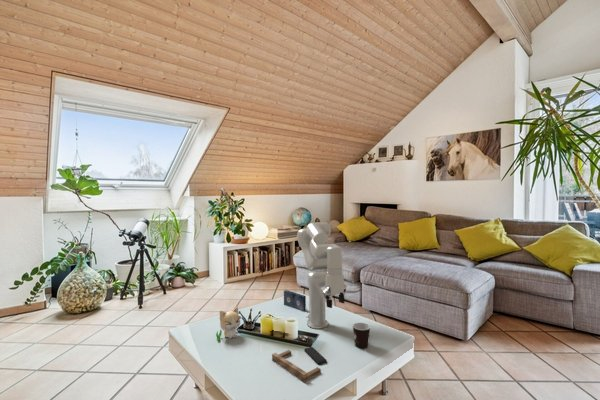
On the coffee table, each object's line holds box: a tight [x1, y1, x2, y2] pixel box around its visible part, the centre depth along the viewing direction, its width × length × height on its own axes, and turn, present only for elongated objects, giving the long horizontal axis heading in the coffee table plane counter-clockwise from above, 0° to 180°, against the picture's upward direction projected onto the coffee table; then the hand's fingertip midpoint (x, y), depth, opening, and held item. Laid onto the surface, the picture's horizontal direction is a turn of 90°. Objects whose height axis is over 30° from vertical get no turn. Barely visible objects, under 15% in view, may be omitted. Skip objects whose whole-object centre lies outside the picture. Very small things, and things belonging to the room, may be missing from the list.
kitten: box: [215, 306, 241, 341], centre depth 168 cm, size 15×10×15 cm
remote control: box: [303, 346, 328, 366], centre depth 148 cm, size 5×2×15 cm
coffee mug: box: [352, 322, 371, 350], centre depth 159 cm, size 12×9×10 cm
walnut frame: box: [271, 349, 322, 383], centre depth 139 cm, size 22×10×3 cm, turn 42°
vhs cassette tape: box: [283, 289, 307, 312], centre depth 209 cm, size 18×3×10 cm, turn 46°
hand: (335, 305), depth 155 cm, fingers open, 9 cm apart
